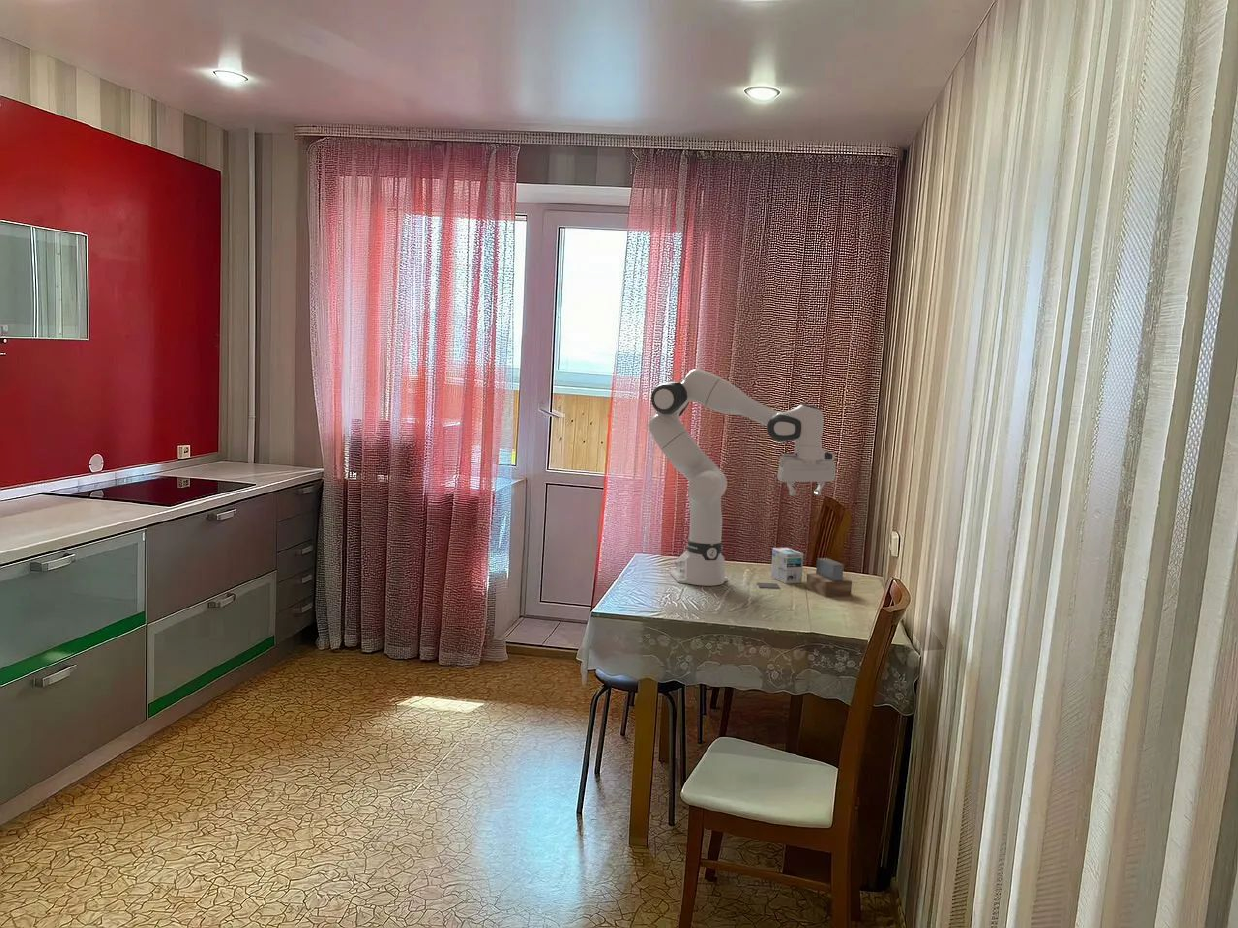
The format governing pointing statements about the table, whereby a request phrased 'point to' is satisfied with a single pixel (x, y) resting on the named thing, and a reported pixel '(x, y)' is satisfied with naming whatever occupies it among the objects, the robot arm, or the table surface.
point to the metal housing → (829, 569)
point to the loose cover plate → (768, 585)
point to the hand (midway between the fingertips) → (805, 495)
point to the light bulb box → (787, 565)
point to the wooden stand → (828, 586)
